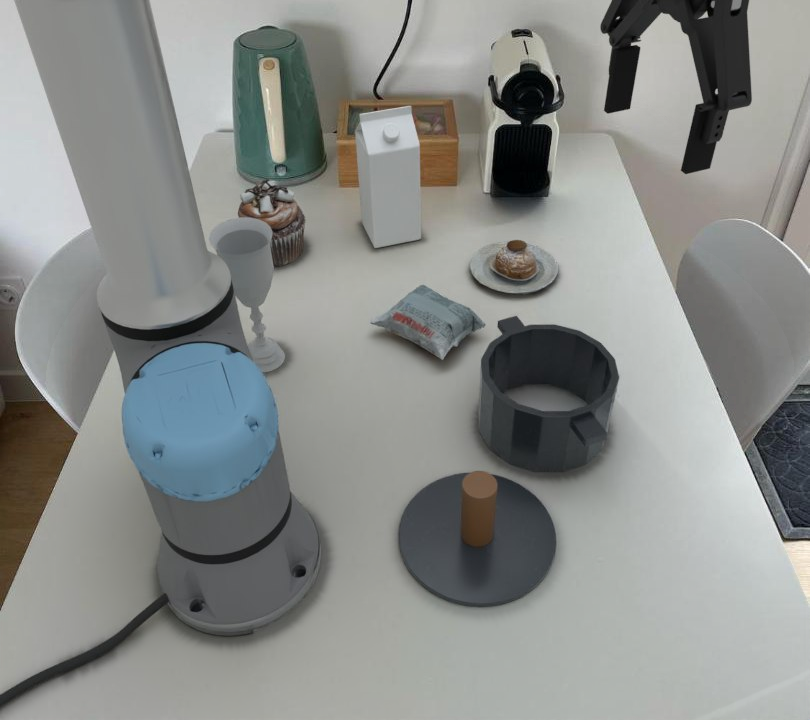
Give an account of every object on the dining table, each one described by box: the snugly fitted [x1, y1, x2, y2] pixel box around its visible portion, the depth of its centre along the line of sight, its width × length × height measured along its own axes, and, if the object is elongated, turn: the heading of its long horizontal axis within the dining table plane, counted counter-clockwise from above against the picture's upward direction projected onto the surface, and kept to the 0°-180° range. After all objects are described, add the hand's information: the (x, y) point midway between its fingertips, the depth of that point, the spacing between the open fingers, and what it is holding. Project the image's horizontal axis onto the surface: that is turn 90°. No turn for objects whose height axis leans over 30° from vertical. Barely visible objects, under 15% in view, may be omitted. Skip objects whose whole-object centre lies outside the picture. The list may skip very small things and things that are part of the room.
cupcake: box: [237, 178, 307, 267], centre depth 113 cm, size 10×10×10 cm
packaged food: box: [369, 284, 486, 361], centre depth 100 cm, size 9×12×5 cm
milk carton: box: [354, 105, 422, 249], centre depth 113 cm, size 7×7×19 cm
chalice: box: [208, 217, 286, 373], centre depth 94 cm, size 7×7×18 cm
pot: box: [477, 315, 620, 473], centre depth 87 cm, size 14×19×9 cm
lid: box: [398, 470, 557, 607], centre depth 76 cm, size 15×15×9 cm
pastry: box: [469, 239, 559, 295], centre depth 110 cm, size 12×12×5 cm
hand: (653, 138), depth 81 cm, fingers open, 13 cm apart
